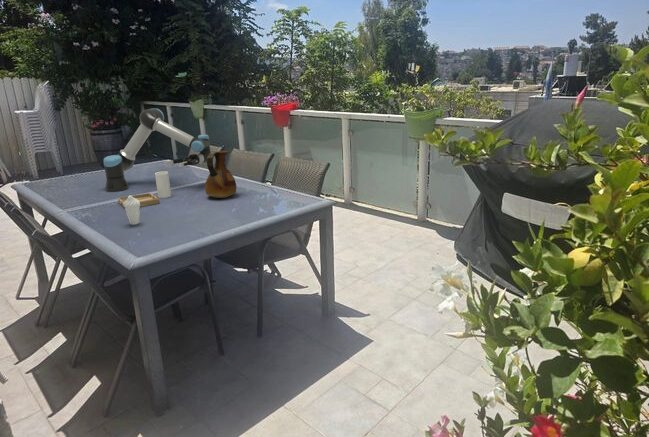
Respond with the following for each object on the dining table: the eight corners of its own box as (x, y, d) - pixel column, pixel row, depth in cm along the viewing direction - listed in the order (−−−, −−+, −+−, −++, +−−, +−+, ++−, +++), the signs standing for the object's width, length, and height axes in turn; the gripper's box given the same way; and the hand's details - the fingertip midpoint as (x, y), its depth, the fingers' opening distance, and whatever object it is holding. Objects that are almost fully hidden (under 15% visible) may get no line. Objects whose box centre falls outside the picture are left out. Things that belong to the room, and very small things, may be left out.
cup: (167, 198, 296) (163, 174, 291) (155, 197, 298) (152, 173, 293) (173, 195, 304) (170, 171, 299) (162, 194, 305) (159, 171, 300)
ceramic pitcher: (243, 194, 301) (239, 149, 292) (224, 201, 284) (219, 154, 275) (219, 191, 309) (214, 147, 300) (199, 199, 292) (194, 152, 283)
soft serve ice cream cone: (129, 221, 250) (124, 193, 245) (145, 220, 251) (140, 192, 246) (124, 226, 242) (119, 197, 237) (140, 225, 243) (135, 196, 238)
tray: (118, 202, 288) (117, 198, 287) (150, 197, 299) (150, 192, 298) (126, 209, 273) (125, 204, 272) (159, 203, 284) (159, 198, 283)
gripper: (209, 165, 315) (186, 171, 298) (183, 163, 327) (160, 168, 310) (208, 154, 313) (184, 160, 295) (182, 152, 325) (158, 157, 307)
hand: (172, 164), depth 302 cm, fingers open, 13 cm apart
